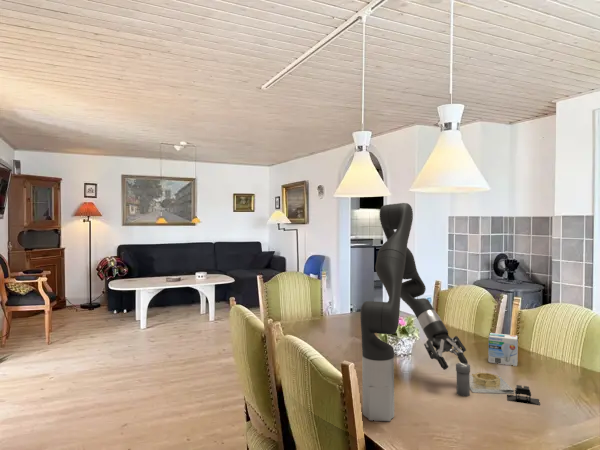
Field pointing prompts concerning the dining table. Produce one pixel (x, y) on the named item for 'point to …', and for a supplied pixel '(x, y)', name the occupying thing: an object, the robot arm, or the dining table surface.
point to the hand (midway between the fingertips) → (456, 366)
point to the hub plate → (488, 384)
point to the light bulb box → (503, 349)
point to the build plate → (523, 399)
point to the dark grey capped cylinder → (463, 379)
